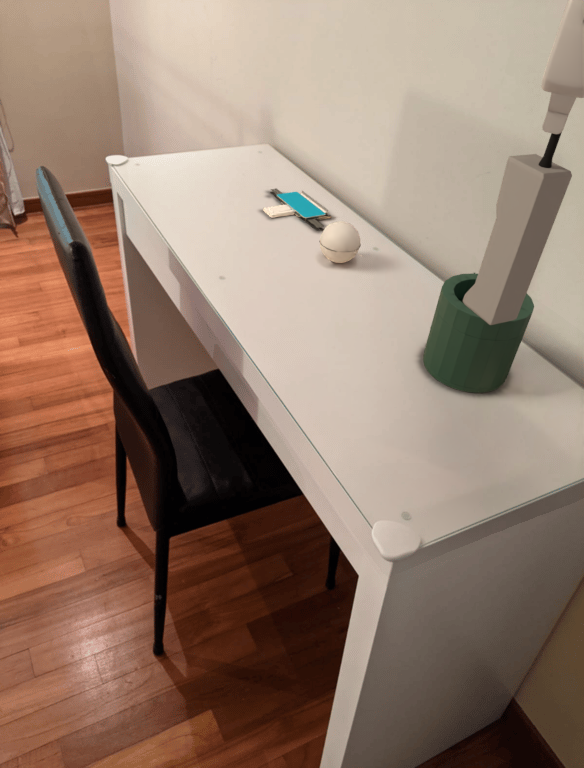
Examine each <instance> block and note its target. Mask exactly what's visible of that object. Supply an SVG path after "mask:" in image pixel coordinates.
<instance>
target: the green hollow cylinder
mask: <svg viewBox="0 0 584 768" xmlns="http://www.w3.org/2000/svg"><path fill="white" fill-rule="evenodd" d="M477 276H478V273H460V274H456V275H452V276H450V277H449V278H447V279H446V280H445V281H444V282H443V283H442V286H441V288H440V292H439V296H438V300H437V304H436V307H435V311H434V314H433V318H432V321H431V325H430V329H429V333H428V335H427V339H426V343H425V347H424V351H423V356H422V361H423V365H424V367H425V369H426V371H427V372H428V374H429V375H431V376H432V378H434V379H435V380H436V381H438V382H439V383H441V384H443V385H445V386H447V387H449V388H451V389H454V390H457V391H461V392H465V393H472V394H482V393H489V392H493V391H495V390H497V389H499V388H501V387H502V386H503V385H504V384H505V382H506V380H507V379H508V376H509V373H510V371H511V368H512V366H513V363H514V361H515V359H516V357H517V356H516V355H517V354H518V351H519V348H520V345H521V343H522V342H523V341H522V340H523V338H524V336H525V333H526V330H527V328H528V325H529V322H530V320H531V317H532V316H533V312H534V309H535V304H534V301H533V299H532V297H531V296H530V295H529V294H528V292H527V293H526V296H525V298H524V301H523V303H522V306H521V309H520V311H519V314H518V316H517V319H515V320H512V321H508V322H503V323H499V324H494V325H489V324H488V323H487V322H485V321H484V320H483V319H482V318H480V317H479V316H478V315H477V314H476V313H474V312H473V311H472V310H471V309H469V308H468V307H467V306H466V305H465V304H464V303H463V299H464V296H465V294H466V293H467V292H468V291H469V290H470V288H471V287H472V286H473V285H474V284H475V282H476V279H477Z"/></svg>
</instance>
